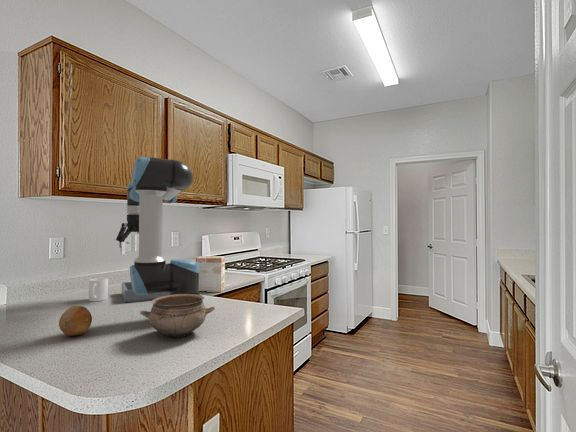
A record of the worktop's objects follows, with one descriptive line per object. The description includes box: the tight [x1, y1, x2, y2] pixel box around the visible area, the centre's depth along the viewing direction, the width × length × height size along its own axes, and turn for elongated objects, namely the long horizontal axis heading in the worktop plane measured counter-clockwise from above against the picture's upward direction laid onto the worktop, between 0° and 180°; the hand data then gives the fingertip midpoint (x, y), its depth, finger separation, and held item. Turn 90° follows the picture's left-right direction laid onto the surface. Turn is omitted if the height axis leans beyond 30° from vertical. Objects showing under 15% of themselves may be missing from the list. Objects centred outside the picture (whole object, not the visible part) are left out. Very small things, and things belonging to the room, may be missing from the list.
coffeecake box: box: [195, 255, 226, 293], centre depth 193 cm, size 15×7×20 cm, turn 84°
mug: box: [88, 277, 109, 303], centre depth 168 cm, size 12×8×10 cm
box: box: [121, 281, 170, 304], centre depth 180 cm, size 24×24×6 cm
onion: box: [58, 305, 93, 337], centre depth 117 cm, size 10×10×10 cm
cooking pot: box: [139, 294, 215, 338], centre depth 119 cm, size 25×19×12 cm
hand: (134, 254), depth 176 cm, fingers open, 13 cm apart
